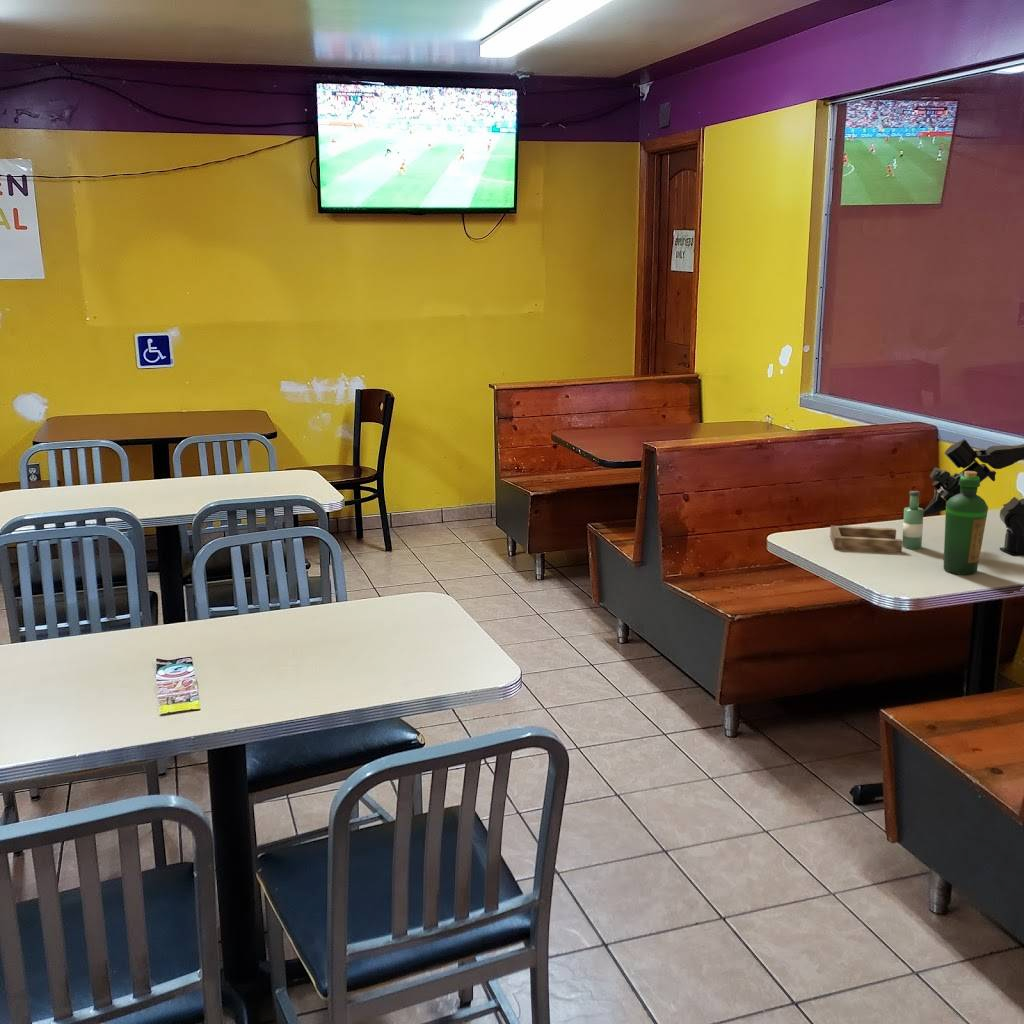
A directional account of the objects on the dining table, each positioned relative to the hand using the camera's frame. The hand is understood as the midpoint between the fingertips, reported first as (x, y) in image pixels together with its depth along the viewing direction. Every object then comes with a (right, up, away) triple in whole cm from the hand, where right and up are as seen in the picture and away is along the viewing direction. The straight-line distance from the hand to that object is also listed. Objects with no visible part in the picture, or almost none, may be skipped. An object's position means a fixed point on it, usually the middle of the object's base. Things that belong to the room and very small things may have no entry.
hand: (924, 513), depth 303 cm
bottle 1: (-2, -10, +3) cm, 11 cm away
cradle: (-16, -9, +6) cm, 19 cm away
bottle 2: (+2, -16, -20) cm, 25 cm away
